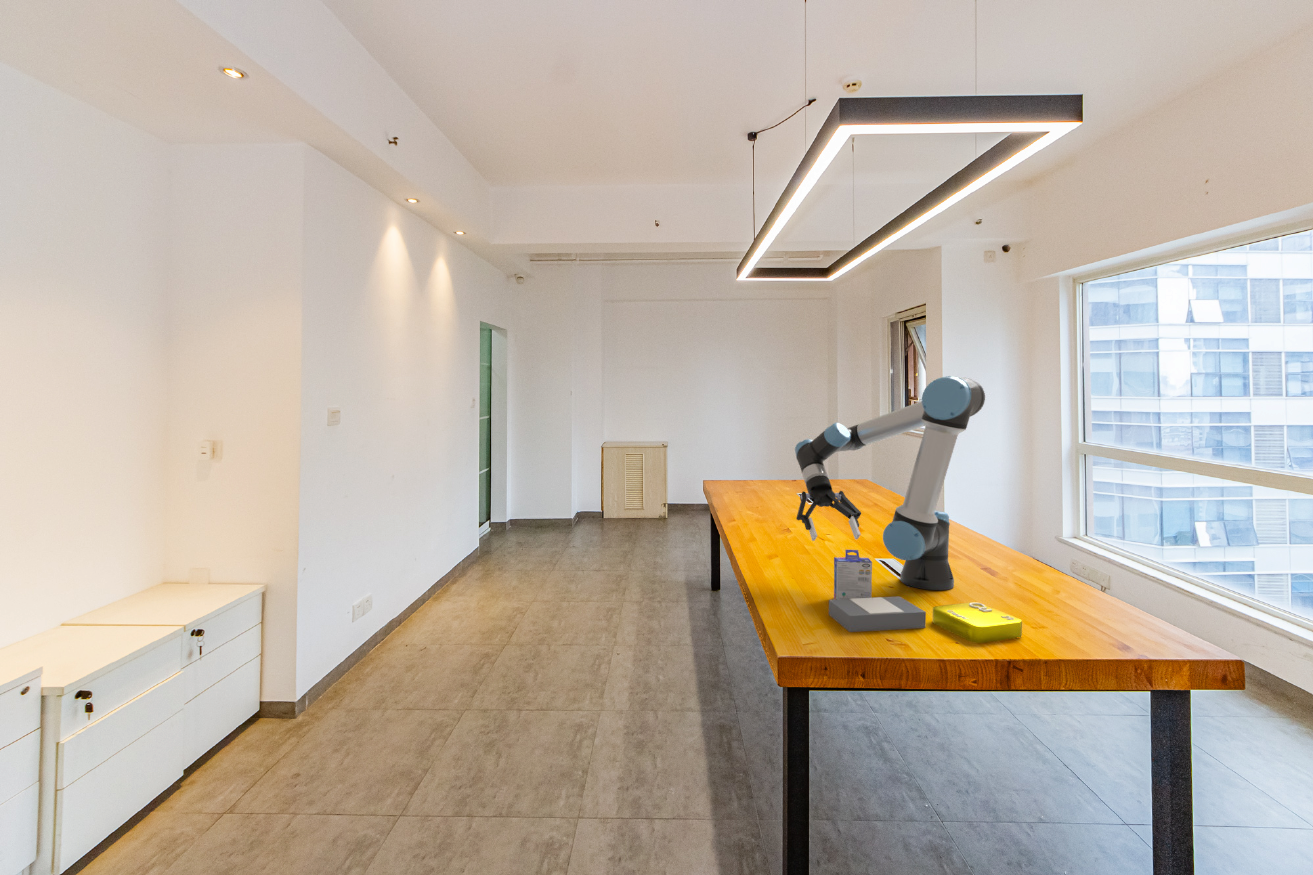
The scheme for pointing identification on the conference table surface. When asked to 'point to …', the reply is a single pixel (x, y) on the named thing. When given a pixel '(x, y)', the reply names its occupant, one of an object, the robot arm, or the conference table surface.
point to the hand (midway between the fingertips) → (836, 537)
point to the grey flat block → (876, 614)
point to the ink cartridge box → (852, 576)
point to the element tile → (977, 622)
